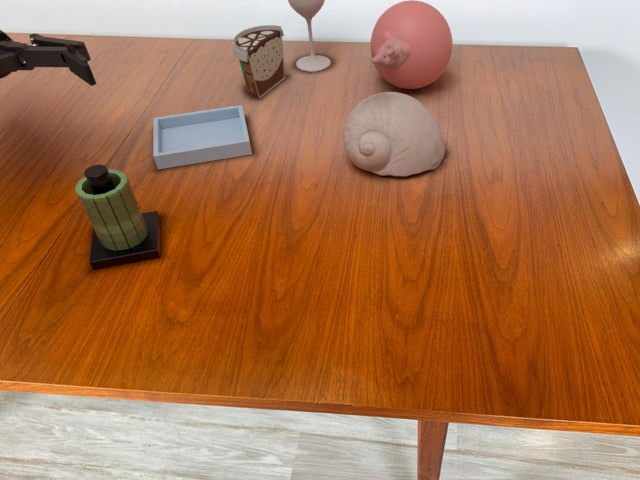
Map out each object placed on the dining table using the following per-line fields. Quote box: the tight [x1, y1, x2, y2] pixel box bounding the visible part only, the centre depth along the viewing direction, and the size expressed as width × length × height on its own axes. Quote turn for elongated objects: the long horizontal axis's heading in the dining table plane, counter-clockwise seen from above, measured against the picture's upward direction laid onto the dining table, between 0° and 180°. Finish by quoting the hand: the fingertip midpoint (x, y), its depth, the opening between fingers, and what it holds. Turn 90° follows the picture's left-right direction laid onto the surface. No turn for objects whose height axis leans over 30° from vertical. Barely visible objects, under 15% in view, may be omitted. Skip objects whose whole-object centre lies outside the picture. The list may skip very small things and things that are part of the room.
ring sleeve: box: [74, 168, 148, 251], centre depth 79 cm, size 6×6×9 cm
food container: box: [232, 24, 286, 100], centre depth 112 cm, size 12×6×10 cm, turn 154°
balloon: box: [370, 0, 453, 90], centre depth 108 cm, size 15×20×15 cm
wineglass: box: [287, 0, 332, 73], centre depth 114 cm, size 8×8×21 cm
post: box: [83, 164, 161, 271], centre depth 79 cm, size 9×9×12 cm
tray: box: [152, 104, 253, 170], centre depth 101 cm, size 16×13×3 cm
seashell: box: [342, 91, 446, 177], centre depth 95 cm, size 15×14×15 cm
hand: (40, 94), depth 74 cm, fingers open, 13 cm apart
